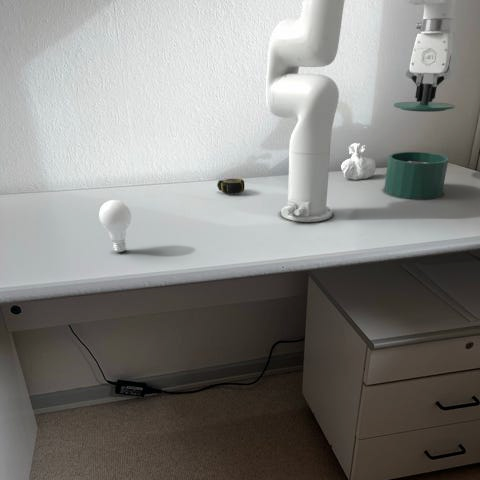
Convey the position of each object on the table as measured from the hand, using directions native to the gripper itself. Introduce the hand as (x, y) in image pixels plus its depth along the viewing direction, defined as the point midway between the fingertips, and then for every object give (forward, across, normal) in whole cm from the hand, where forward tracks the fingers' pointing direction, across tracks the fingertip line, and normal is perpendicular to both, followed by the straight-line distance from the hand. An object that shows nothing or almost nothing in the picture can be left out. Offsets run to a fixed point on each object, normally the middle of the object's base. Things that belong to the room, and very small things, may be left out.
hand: (424, 100), depth 143 cm
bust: (+23, -16, -6) cm, 28 cm away
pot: (+22, +4, -15) cm, 27 cm away
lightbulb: (+23, -36, -90) cm, 100 cm away
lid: (+2, 0, 0) cm, 2 cm away
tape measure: (+23, -41, -40) cm, 62 cm away
